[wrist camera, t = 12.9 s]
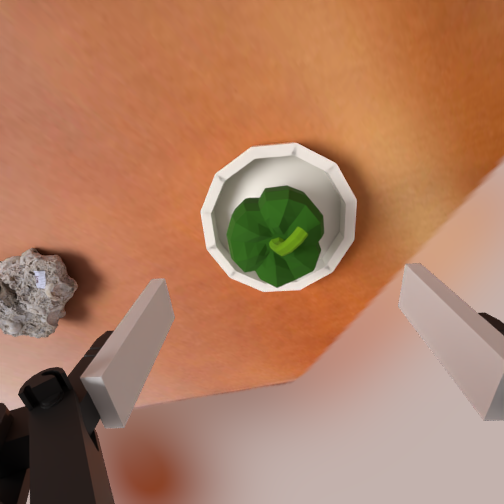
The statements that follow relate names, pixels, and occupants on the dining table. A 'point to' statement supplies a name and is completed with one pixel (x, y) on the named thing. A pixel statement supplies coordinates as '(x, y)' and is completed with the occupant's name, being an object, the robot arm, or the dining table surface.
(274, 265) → the bell pepper
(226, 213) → the dish
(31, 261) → the mineral specimen
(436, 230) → the dining table surface
